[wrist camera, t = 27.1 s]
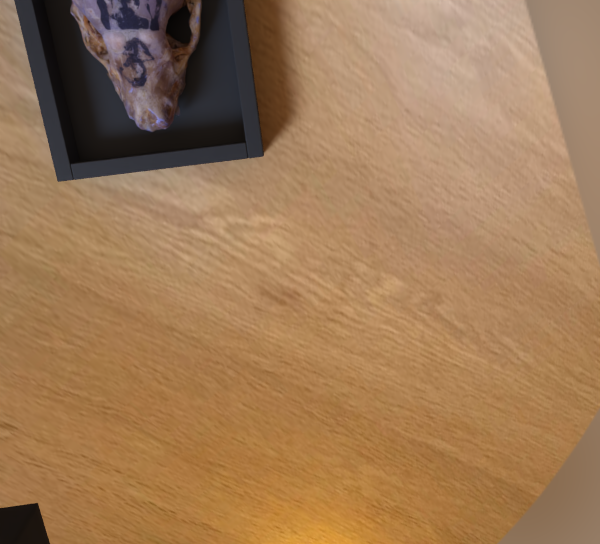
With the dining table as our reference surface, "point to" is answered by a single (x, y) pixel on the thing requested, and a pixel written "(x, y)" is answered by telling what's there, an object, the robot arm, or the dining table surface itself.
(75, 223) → the dining table surface
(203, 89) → the tray
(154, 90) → the skull
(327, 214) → the dining table surface
